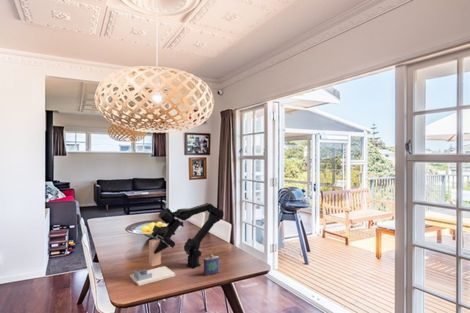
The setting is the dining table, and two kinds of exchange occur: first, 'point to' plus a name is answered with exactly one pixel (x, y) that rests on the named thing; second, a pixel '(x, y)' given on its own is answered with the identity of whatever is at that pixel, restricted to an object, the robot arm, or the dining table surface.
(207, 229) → the robot arm
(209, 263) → the flask
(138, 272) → the dock
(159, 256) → the tall peach block
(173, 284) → the dining table surface
